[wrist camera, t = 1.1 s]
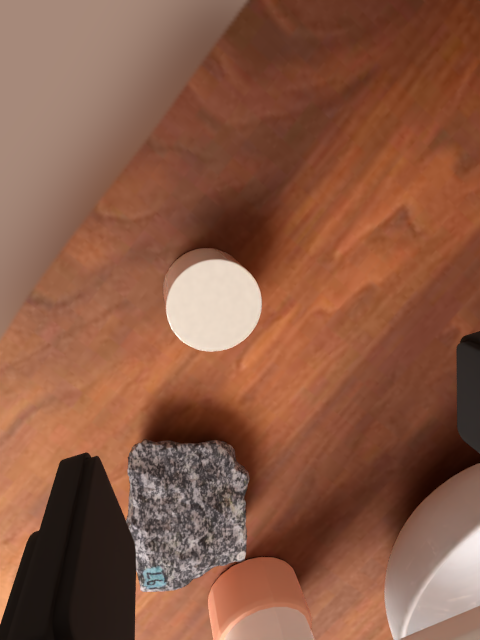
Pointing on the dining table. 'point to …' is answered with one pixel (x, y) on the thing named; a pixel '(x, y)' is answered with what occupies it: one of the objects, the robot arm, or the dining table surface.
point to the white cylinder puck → (211, 300)
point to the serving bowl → (436, 558)
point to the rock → (185, 510)
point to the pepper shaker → (259, 603)
